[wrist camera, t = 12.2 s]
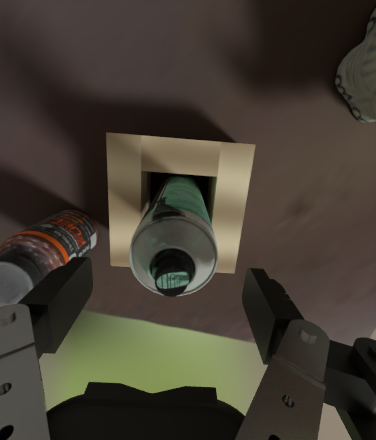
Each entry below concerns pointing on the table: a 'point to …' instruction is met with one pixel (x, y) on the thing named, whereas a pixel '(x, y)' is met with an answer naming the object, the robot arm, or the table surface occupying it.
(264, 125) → the table surface
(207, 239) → the spray can
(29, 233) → the supplement bottle
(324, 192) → the table surface
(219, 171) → the tube block
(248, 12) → the table surface
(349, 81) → the grey animal cookie jar
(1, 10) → the table surface
